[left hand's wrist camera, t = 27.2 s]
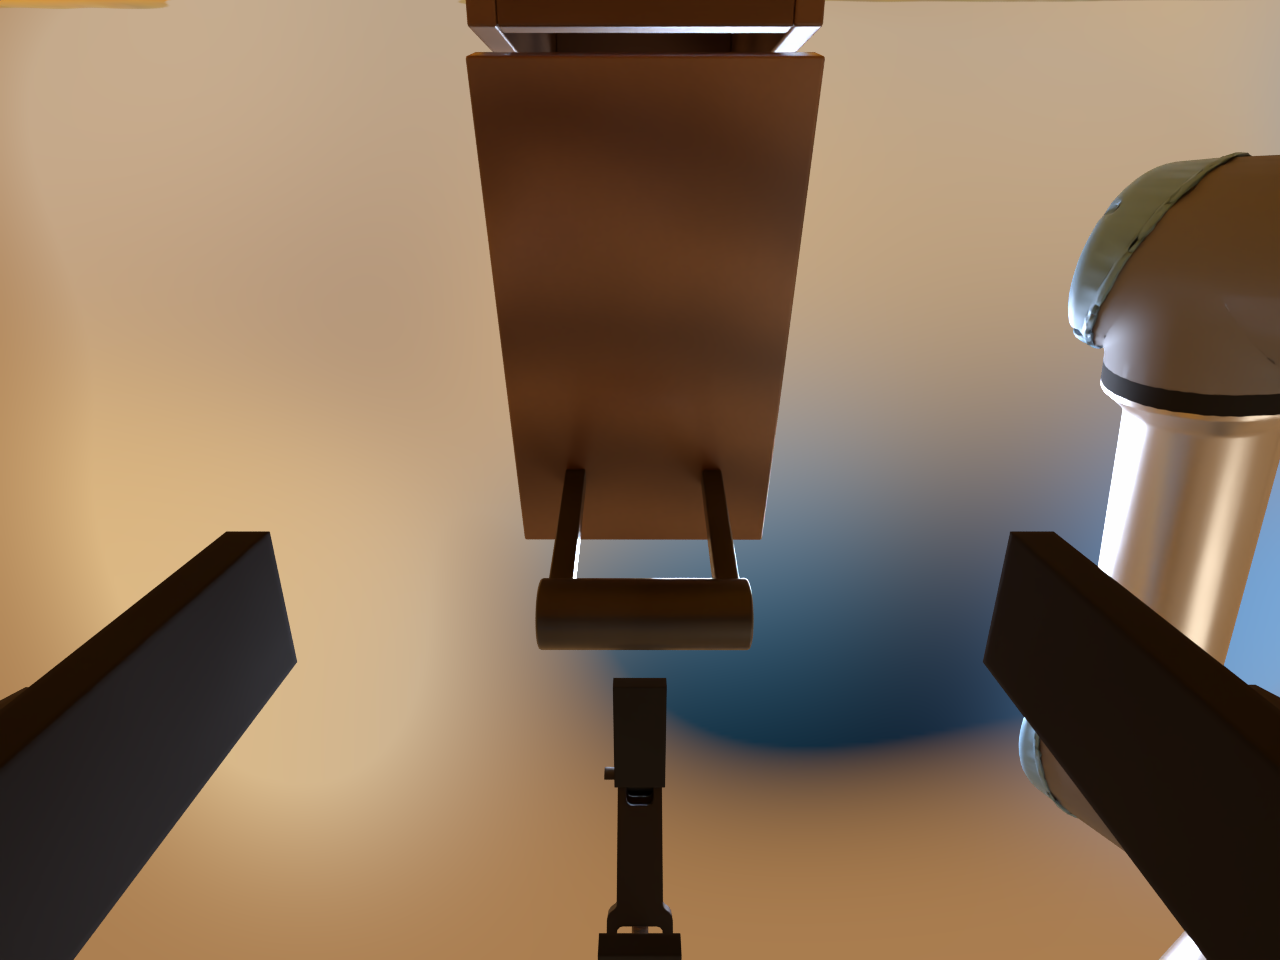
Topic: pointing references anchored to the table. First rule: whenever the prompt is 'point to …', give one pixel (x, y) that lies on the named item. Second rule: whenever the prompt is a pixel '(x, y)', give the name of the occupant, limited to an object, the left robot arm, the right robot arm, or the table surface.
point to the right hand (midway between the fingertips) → (639, 784)
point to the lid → (644, 314)
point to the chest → (645, 25)
